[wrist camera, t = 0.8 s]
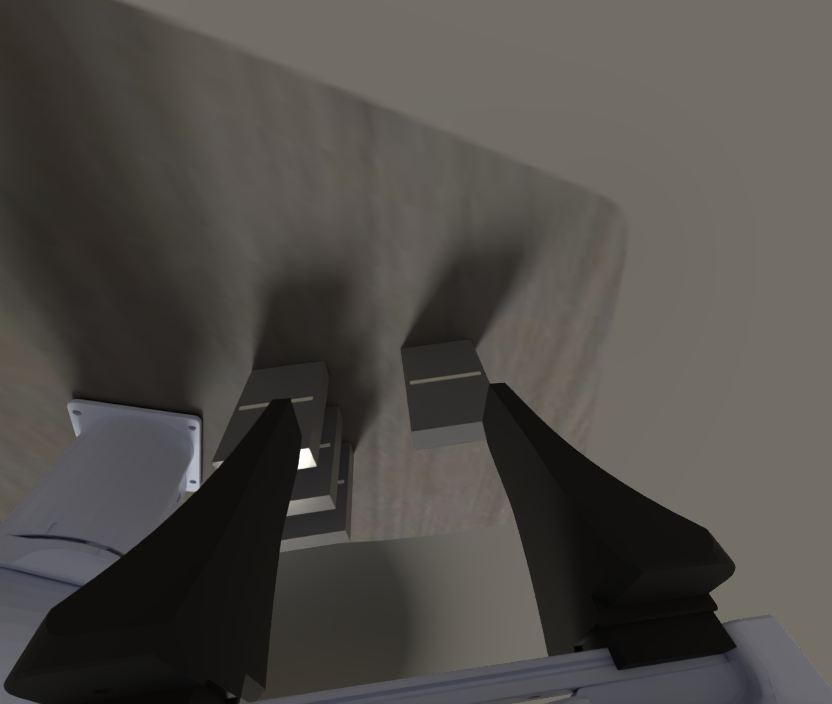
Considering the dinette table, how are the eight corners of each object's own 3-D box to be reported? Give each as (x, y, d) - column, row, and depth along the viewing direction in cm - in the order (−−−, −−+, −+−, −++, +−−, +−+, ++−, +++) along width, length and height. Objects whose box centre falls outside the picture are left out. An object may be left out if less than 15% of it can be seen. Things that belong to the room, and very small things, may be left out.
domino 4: (470, 357, 25) (502, 438, 19) (403, 366, 25) (414, 451, 19) (470, 338, 24) (504, 417, 18) (400, 347, 24) (411, 431, 18)
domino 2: (343, 419, 27) (335, 509, 21) (281, 428, 27) (256, 521, 21) (338, 404, 26) (329, 494, 20) (273, 413, 26) (245, 507, 20)
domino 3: (354, 453, 30) (350, 541, 24) (297, 462, 30) (279, 552, 24) (350, 441, 29) (345, 529, 23) (291, 449, 29) (271, 541, 23)
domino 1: (329, 378, 24) (317, 467, 19) (260, 387, 24) (225, 480, 18) (323, 359, 23) (308, 447, 17) (251, 369, 23) (211, 461, 17)
